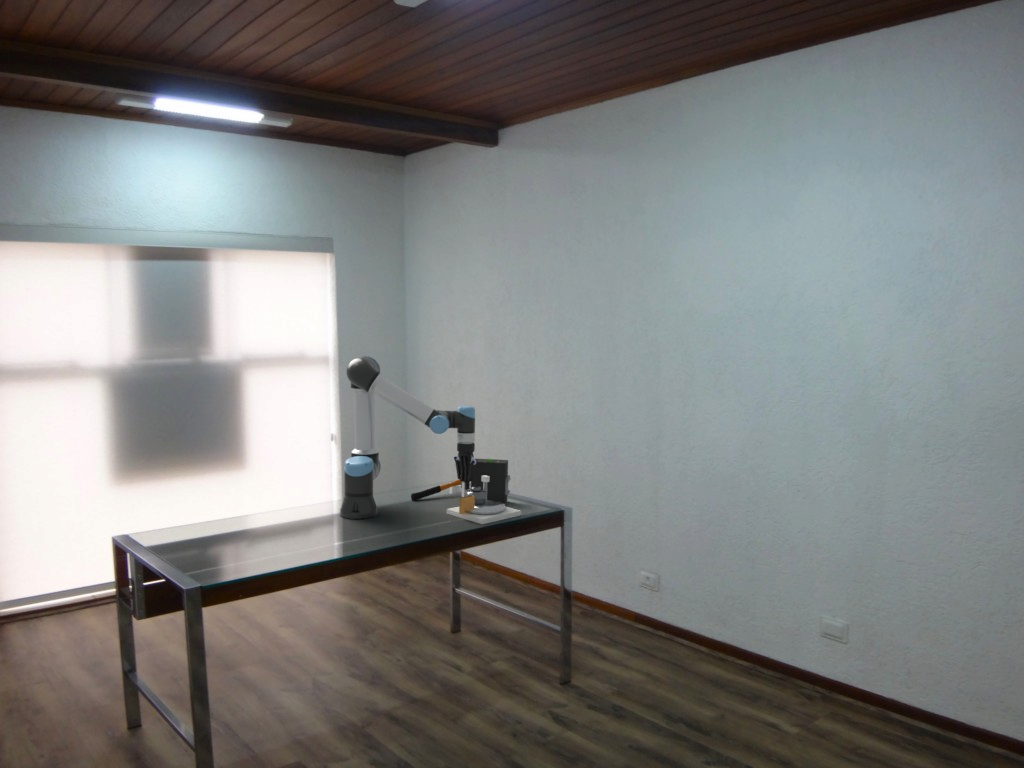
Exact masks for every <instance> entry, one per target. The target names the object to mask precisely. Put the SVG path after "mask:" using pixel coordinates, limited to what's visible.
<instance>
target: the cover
mask: <svg viewBox="0 0 1024 768" xmlns="http://www.w3.org/2000/svg"><path fill="white" fill-rule="evenodd" d="M470 488H471V489H469V490H467V496H471V495H473V496H475V504H474V505H483V504H485V496H486V491H485V490H481V487H480V486H473V487H471V486H470Z"/></svg>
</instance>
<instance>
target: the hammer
mask: <svg viewBox="0 0 1024 768" xmlns="http://www.w3.org/2000/svg"><path fill="white" fill-rule="evenodd" d="M456 486H461V480H460V479H456V480H455V481H452V482H449V483H445V484H443V485H442V484H441V485H436V486H434V487H431V488H430V487H429V488H427V489H425V490H421V491H417V492H414V493H411V494H410V499H411V501H412V502H416V501H418V500H421V499H424V498H426V497H429V496H433V495H435V494H439V493H441V492H443V491H445V490H447V489H450V488H452V487H456Z"/></svg>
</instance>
